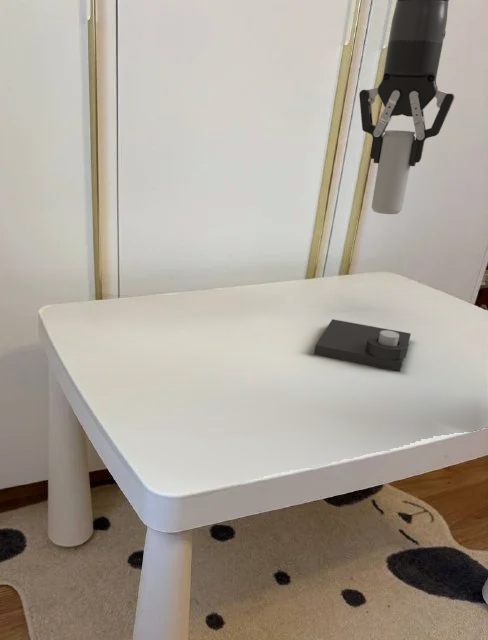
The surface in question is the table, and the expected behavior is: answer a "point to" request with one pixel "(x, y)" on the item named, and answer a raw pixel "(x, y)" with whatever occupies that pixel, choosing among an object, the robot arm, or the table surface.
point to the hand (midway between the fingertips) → (394, 163)
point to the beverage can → (392, 171)
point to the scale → (361, 345)
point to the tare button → (388, 338)
